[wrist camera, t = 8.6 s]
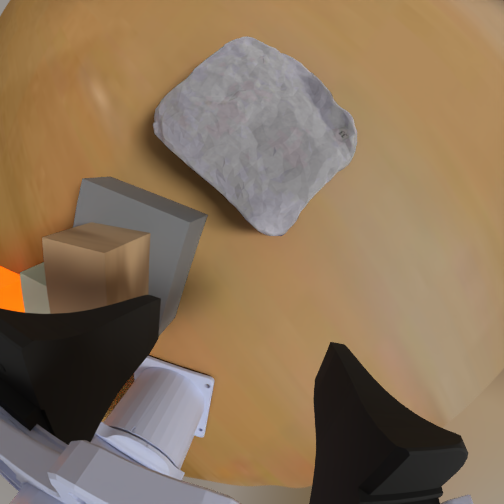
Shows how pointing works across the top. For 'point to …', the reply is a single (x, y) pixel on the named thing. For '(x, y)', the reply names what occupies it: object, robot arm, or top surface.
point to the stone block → (257, 131)
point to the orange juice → (10, 291)
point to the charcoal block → (152, 221)
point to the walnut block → (95, 266)
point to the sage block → (35, 290)
